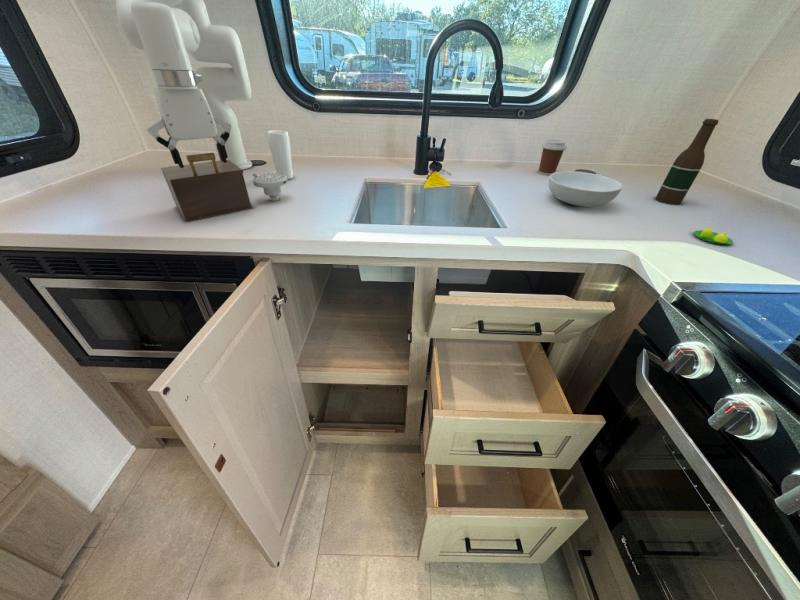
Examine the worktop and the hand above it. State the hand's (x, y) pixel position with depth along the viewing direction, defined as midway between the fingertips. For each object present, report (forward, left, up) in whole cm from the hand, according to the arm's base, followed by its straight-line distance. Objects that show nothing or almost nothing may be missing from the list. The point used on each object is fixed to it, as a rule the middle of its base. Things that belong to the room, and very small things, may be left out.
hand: (203, 164), depth 78 cm
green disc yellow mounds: (+89, +96, -13) cm, 132 cm away
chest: (-5, 0, -13) cm, 14 cm away
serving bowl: (+54, +95, -13) cm, 110 cm away
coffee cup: (+29, +119, -13) cm, 123 cm away
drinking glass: (-21, +28, -13) cm, 38 cm away
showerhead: (-2, +16, -13) cm, 21 cm away
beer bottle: (+72, +122, -13) cm, 142 cm away
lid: (-5, 0, -3) cm, 5 cm away
